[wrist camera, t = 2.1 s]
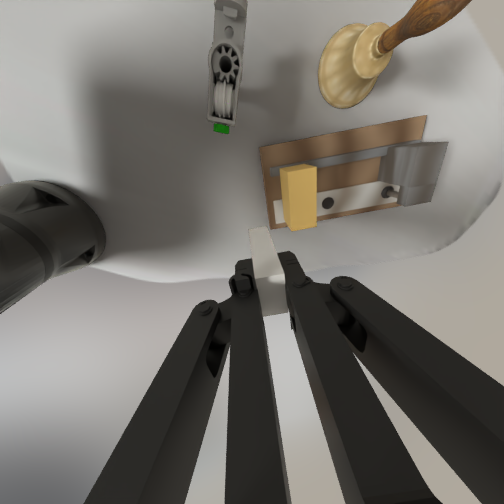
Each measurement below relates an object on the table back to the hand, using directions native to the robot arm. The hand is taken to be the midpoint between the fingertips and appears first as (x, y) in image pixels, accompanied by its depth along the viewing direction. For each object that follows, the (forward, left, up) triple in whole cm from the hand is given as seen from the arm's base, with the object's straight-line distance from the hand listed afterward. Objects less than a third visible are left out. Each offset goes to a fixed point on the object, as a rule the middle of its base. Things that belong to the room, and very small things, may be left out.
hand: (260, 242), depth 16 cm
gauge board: (+15, 0, -19) cm, 24 cm away
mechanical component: (0, +14, -19) cm, 23 cm away
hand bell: (+16, +14, -19) cm, 28 cm away
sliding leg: (+7, -1, -16) cm, 18 cm away
